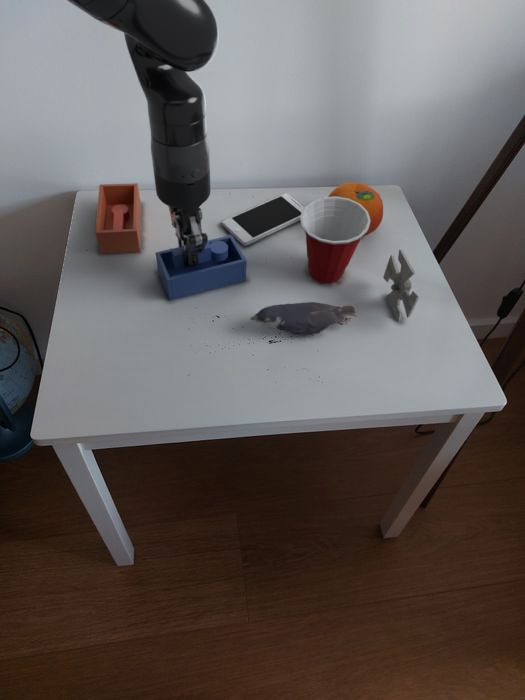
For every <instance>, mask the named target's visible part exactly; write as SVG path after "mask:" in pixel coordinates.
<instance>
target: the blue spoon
mask: <svg viewBox="0 0 525 700" xmlns="http://www.w3.org/2000/svg"><path fill="white" fill-rule="evenodd" d="M175 248H176V249H173V248H171V249H172V258H173V264H174V266H175V268H176V269H178V268H183V267H185V265H184V260H183V249H182V247H181V248H177V247H175ZM227 257H228V246H227V244H226V243H225V242H222V241H215V242H212V243H211V244H209V242H208V241H207V244H206V246H205V248H204V251H203V252H202V253H198V264H199V263H203V262H207V261H211V260H214V261H224V260H225V259H226V258H227Z"/></svg>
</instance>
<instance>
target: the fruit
mask: <svg viewBox="0 0 525 700" xmlns="http://www.w3.org/2000/svg"><path fill="white" fill-rule="evenodd" d="M335 196H336V197H342V198H348V199H351V200H353V201H355V202H357V203H359V204H361V205H362V206H363V207H364V208H365V209H366V210H367V211H368V214H369V217H370V220H371V221H370V225H369V228H368V231H367V232H366V233H365V234H364V235H363V236H362V238H364V237H366V236H368V235H371V234H372V233H374V232H375V231H376V230H377V229H379V226H380V225H381V223H382V220H383V218H384V202H383V200H382V197H381V195H380V193H378V192H377V191H376V190H375V189H374V188H373V187H371V186H370V185H368V184H366V183H363V182H354V181H353V182H352V181H350V182H344V183H341V184H339V185H338V186H336V188H334V189H333V190H332V191H331V192H330V193H329V195H328V196H327V197H335Z"/></svg>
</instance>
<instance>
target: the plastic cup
mask: <svg viewBox="0 0 525 700" xmlns="http://www.w3.org/2000/svg"><path fill="white" fill-rule="evenodd" d="M300 219H301V220H300V224H301V228H302V230H304V234H305V244H306V257H307V268H308V273H309V277H311V278H312V280H313V281H315V282H317V283H319V284H323V285H332V284H335V283H337V282H338V281H339V280H341V278H342V277H343V275H344V273H345V272H346V268H347V267H348V266H349V264H350V262H351V260H352V258H353V256H354V253H355V251H356V249H357V248H358V245H359V244H360V242H361V240H362V239H363V237H362V236H363V235H364V234H365V233H366V232H367V231H368V228H369V225H370V221H371V220H370V217H369V214H368V211H367V210H366V209H365V208H364V207H363V206H362V205H361V204H359V203H357V202H355V201H353V200H351V199H348V198H342V197H336V196H335V197H328V196H324V197H320V198H317V199H315V200H312V201H310V202H309V203H308V204H307V205H306V206H304V208H303V211H302V213H301V216H300Z"/></svg>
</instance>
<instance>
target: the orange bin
mask: <svg viewBox="0 0 525 700" xmlns="http://www.w3.org/2000/svg"><path fill="white" fill-rule="evenodd" d="M140 196H141V195H140V190H139V184H138V183H137V182H136V183H134V182H133V183H108V184H107V183H104V184H99V188H98V198H97V208H96V209H97V210H96V221H95V230H94V231H95V232H94V233H95V238H96V241H97V244H98V245H97V246H98V249H99V253H100V254H121V253H122V254H123V253H140V252H141V236H142V235H141V230H142V229H141V228H142V227H141V226H142V225H141V224H142V210H141V209H142V203H141V197H140ZM118 204H123V205H126V206H127V207H128V209H129V215H130V218H129V220H128V221H126V228H125V229H122V230H113V216H112V212H111V209H112V207H113V206H115V205H118Z"/></svg>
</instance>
